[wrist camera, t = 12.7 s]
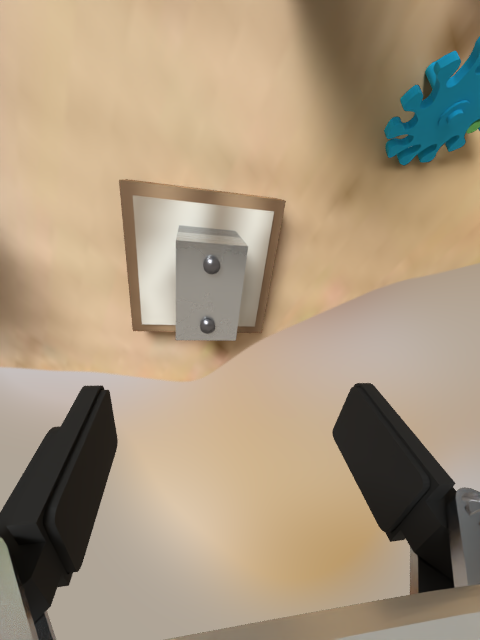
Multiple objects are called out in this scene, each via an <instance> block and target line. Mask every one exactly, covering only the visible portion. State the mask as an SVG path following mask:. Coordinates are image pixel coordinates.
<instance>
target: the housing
mask: <svg viewBox="0 0 480 640" xmlns="http://www.w3.org/2000/svg"><path fill="white" fill-rule="evenodd" d="M247 252H248V245H247V244H246V243H245V242H244V241H243V239H242V238H241V237H240V236H239V234H238V233H237V232H236V231H232V230H222V229H212V228H201V227H191V226H181V225H179V228H178V233H177V237H176V340H229V341H236V335H237V327H238V320H239V312H240V305H241V297H242V289H243V282H244V274H245V267H246V259H247Z"/></svg>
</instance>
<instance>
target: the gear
mask: <svg viewBox="0 0 480 640" xmlns="http://www.w3.org/2000/svg"><path fill="white" fill-rule="evenodd" d="M460 63H461V60H460V58H459V56H458V54H457V52H456V51H453V52H451V53H449V54H447V55H445V56H443V57H442V58H440V59H439V60H437V61H435V62H433V63H431V64H430V65H429V66H428V67H427V69H426V71H425V74H426V76H427V78H428V81H429V83H430V85H431V87H432V89H433V90H432V92H431V94H430V95H429V96H428V97H427V98H426V99H424V100H422V99H423V94H422V91H421V89H420V87H419V85H415V86H413V87H412V88H411V89H409V90H408V91H407V92H406V93H405V94H404V95H403V96H402V97H401V99H400V101H401V104H402V106H403V109H404V110H405V111H412V112H415V115H414V117H413V118H412V119H411V120H410V121H408V122H406V123H402V122H401V119H400V117H393V118H392V119H391V120H390V121H389V122H388V124H387V126H386V128H385V130H384V132H385V135H386V138H387V139H391V140H389V141H388V142H387V143H386V153H387V156H388V158H391V157H393V156H395V155H396V154H397V157H398V160H399V163H400V164H402V165H406V164H408V163H409V162H410V161H411V160H412V159H413V158H414V157H415V156H416V155H417V154H418V155H417V156H418V158H419V161H420V162H430V161H431V160H433V159H434V157H435V156H436V153H437V151H438V150H439V149H440V147H441V146H442V145H443V144H444V143H445V142H446V143H445V145H446V147H447V149H448V151H449V152H450V151H453V150H456V149H458V148H460V147H462V146H463V145H464V144H465V142H466V141H465V138H464V136H465V133H466V132H467V133H472V132H474V131H476V130H477V129H479V131H480V37H479V38H478V39H477V41H476V43H475V46H474V49H473V51H472V53H471V55H470V56H469V58H468V59H467V61H466V62H465V63H464V65H463V66H462V67H461V68H460V69H459V70H458V71H457V72H456V70H457V69H458V68H459V66H460ZM455 72H456V74H455V75H454V76H452V75H453V74H454V73H455ZM451 76H452V77H451ZM450 77H451V78H450ZM405 134H408V136H407V137H405V138H403V139H397V138H395V137H397V136H400V135H405ZM392 138H394V139H392ZM408 147H409V148H408Z"/></svg>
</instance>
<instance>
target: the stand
mask: <svg viewBox="0 0 480 640" xmlns="http://www.w3.org/2000/svg"><path fill="white" fill-rule="evenodd" d="M119 185H120V196H121V207H122V218H123V229H124V239H125V250H126V261H127V272H128V283H129V294H130V305H131V316H132V326H133V331H169V332H176V237H177V233H178V228H179V225H181V226H191V227H201V228H212V229H222V230H232V231H236V232H237V233H238V234H239V236H240V237H241V238H242V239H243V241H244V242H245V243H246V244H247V245H248V252H247V259H246V267H245V274H244V282H243V289H242V297H241V305H240V312H239V320H238V327H237V332H238V333H261V332H262V326H263V321H264V315H265V310H266V305H267V299H268V294H269V288H270V283H271V278H272V272H273V267H274V261H275V256H276V251H277V245H278V240H279V235H280V229H281V224H282V218H283V213H284V208H285V202H286V201H284V200H281V199H277V198H269V197H262V196H254V195H246V194H238V193H230V192H222V191H214V190H206V189H198V188H191V187H183V186H175V185H167V184H159V183H151V182H143V181H135V180H127V179H126V180H119Z"/></svg>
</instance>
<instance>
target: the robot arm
mask: <svg viewBox="0 0 480 640" xmlns="http://www.w3.org/2000/svg"><path fill="white" fill-rule="evenodd" d="M333 437H334V440H335V442H336V444H337V445H338V448H339V450H340V451H341V453H342V455H343V457H344V459H345V461H346V463H347V465H348V467H349V469H350V471H351V473H352V475H353V476H354V479H355V481H356V483H357V485H358V486H359V488H360V490H361V492H362V494H363V496H364V498H365V500H366V502H367V504H368V506H369V508H370V510H371V512H372V514H373V516H374V518H375V520H376V522H377V524H378V525H379V527H380V528H381V530H382V531H384V532H386V534H387V536H388V538H389V540H390V542H391V541H398V540H404V539H405V538H406V540H407V541H408V543H409V545H410V595H406V596H401V597H395V598H389V599H384V600H378V601H372V602H367V603H361V604H355V605H350V606H344V607H339V608H333V609H328V610H322V611H317V612H311V613H305V614H300V615H295V616H289V617H284V618H278V619H273V620H267V621H262V622H257V623H251V624H245V625H241V626H235V627H230V628H224V629H219V630H213V631H208V632H203V633H197V634H192V635H187V636H182V637H176V638H171V639H165V640H480V492H478V491H476V490H474V489H471V488H460V489H458V490H457V491H456V490H455V489H454V488H453V486H454V484H455V482H454V481H453V480H452V479H451V478H450V476H449V475H448V474H447V473H446V472H445V470H444V469H443V468H442V467H441V466H440V464H439V463H438V462H437V461H436V460H435V458H434V457H433V456H432V455H431V454H430V453H429V451H428V450H427V449H426V448H425V446H424V445H423V444H422V443H421V442H420V440H419V439H418V438H417V437H416V436H415V434H414V433H413V432H412V431H411V430H410V428H409V427H408V426H407V425H406V424H405V422H404V421H403V420H402V419H401V418H400V416H399V415H398V414H397V413H396V412H395V410H394V409H393V408H392V407H391V406H390V404H389V403H388V402H387V401H386V400H385V398H384V397H383V396H382V395H381V394H380V392H379V391H378V390H377V389H376V388H375V386H373V384H371V383H357V384H355V385H354V387H352V388H351V389H350V392H349V394H348V397H347V399H346V401H345V403H344V405H343V408H342V410H341V412H340V415H339V417H338V419H337V422H336V424H335V426H334V428H333ZM116 448H117V434H116V428H115V422H114V416H113V410H112V404H111V398H110V392H109V390H104V387H103V386H84V387H83V388H82V389H81V391H80V393H79V394H78V396H77V398H76V400H75V402H74V403H73V405H72V407H71V409H70V411H69V413H68V414H67V416H66V418H65V420H64V422H63V424H62V425H61V427H53V428H52V429H50V430H49V432H48V433H47V434H46V436H45V438H44V439H43V441H42V443H41V444H40V446H39V448H38V449H37V451H36V453H35V455H34V456H33V458H32V460H31V461H30V463H29V465H28V466H27V468H26V470H25V472H24V473H23V475H22V477H21V478H20V480H19V482H18V483H17V485H16V487H15V489H14V490H13V492H12V494H11V495H10V497H9V499H8V500H7V502H6V504H5V506H4V507H3V509H2V511H1V512H0V640H56V637H55V634H54V631H53V629H52V625H51V622H50V619H49V616H48V613H47V609H48V608H49V607H50V606H51V604H52V601H53V598H54V595H55V592H56V589H57V587H61V586H68V585H69V583H70V580H71V577H72V573H73V572H78V571H79V569H80V567H81V565H82V562H83V559H84V556H85V552H86V549H87V546H88V542H89V539H90V536H91V532H92V529H93V526H94V522H95V519H96V516H97V512H98V509H99V506H100V502H101V499H102V496H103V492H104V489H105V486H106V482H107V479H108V475H109V472H110V469H111V466H112V462H113V459H114V456H115V452H116Z"/></svg>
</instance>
